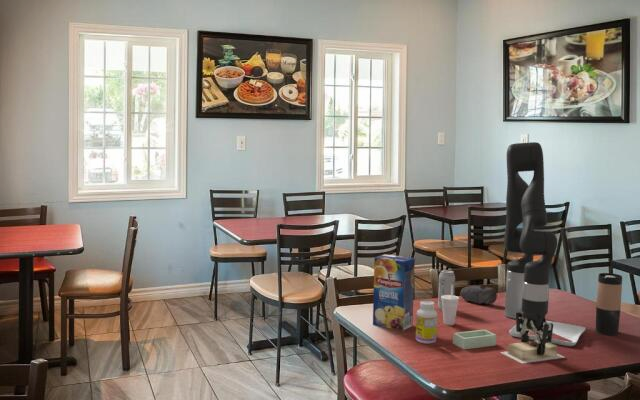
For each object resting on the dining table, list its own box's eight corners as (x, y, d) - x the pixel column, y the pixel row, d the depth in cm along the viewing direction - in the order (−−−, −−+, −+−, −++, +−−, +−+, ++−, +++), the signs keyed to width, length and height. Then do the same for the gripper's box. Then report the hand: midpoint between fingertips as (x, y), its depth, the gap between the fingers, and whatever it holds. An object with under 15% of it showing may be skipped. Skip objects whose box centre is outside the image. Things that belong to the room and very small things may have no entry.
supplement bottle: (413, 337, 212) (414, 299, 210) (433, 337, 212) (434, 299, 211) (418, 344, 205) (419, 305, 204) (438, 344, 206) (440, 305, 204)
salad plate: (522, 325, 229) (523, 316, 229) (586, 335, 218) (586, 326, 218) (507, 341, 211) (507, 331, 211) (575, 353, 200) (576, 342, 200)
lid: (542, 349, 199) (542, 336, 199) (556, 355, 193) (557, 342, 193) (507, 353, 194) (508, 340, 194) (521, 360, 188) (522, 347, 188)
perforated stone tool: (457, 300, 260) (457, 284, 260) (463, 298, 264) (464, 281, 264) (491, 307, 251) (492, 290, 250) (497, 305, 255) (498, 288, 254)
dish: (484, 342, 208) (484, 329, 207) (495, 348, 202) (496, 334, 202) (452, 346, 203) (453, 333, 203) (463, 353, 198) (464, 338, 197)
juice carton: (412, 325, 225) (415, 258, 223) (403, 330, 219) (405, 261, 217) (382, 319, 232) (384, 254, 229) (372, 324, 226) (374, 257, 223)
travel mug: (617, 330, 224) (621, 274, 222) (620, 336, 217) (624, 278, 215) (593, 327, 227) (597, 272, 225) (595, 333, 219) (599, 276, 217)
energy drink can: (455, 312, 243) (456, 273, 242) (439, 311, 243) (440, 273, 242) (452, 307, 249) (453, 270, 248) (436, 307, 249) (438, 269, 248)
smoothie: (458, 327, 225) (459, 287, 223) (439, 325, 226) (441, 286, 224) (458, 321, 231) (459, 283, 229) (440, 320, 232) (441, 282, 231)
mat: (541, 350, 201) (542, 346, 201) (564, 361, 192) (565, 357, 192) (499, 356, 195) (500, 352, 195) (521, 367, 186) (521, 363, 186)
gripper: (562, 302, 187) (559, 357, 188) (529, 290, 200) (526, 342, 202) (541, 304, 184) (538, 360, 186) (509, 292, 197) (506, 345, 199)
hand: (532, 351), depth 194 cm, fingers closed on lid, 6 cm apart
